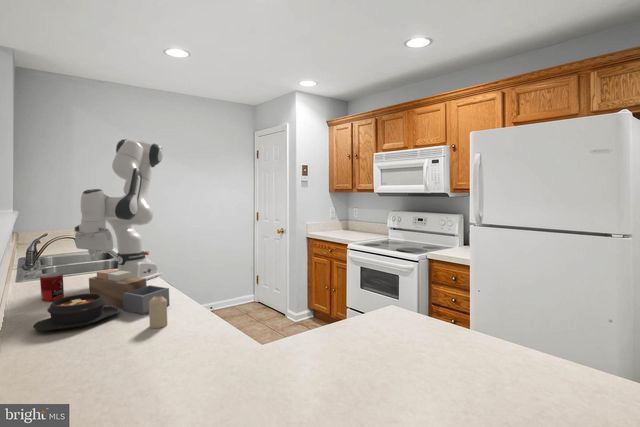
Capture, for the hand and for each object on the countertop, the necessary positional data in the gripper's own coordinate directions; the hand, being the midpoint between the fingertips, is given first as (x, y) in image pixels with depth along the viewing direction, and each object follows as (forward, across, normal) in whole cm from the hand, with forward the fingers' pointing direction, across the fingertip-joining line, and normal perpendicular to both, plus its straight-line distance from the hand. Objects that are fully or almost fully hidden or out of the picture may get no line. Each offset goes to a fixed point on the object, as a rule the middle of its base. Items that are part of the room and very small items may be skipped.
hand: (94, 260), depth 155 cm
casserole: (+17, -22, +20) cm, 34 cm away
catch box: (+17, -30, -1) cm, 35 cm away
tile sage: (+6, -15, -1) cm, 16 cm away
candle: (+17, -50, +10) cm, 54 cm away
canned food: (+17, +16, +8) cm, 25 cm away
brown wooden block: (+16, -13, -1) cm, 21 cm away
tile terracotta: (+6, -8, -1) cm, 10 cm away
